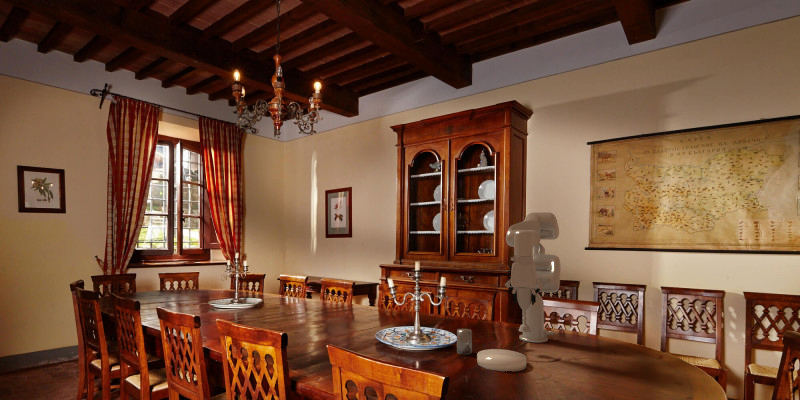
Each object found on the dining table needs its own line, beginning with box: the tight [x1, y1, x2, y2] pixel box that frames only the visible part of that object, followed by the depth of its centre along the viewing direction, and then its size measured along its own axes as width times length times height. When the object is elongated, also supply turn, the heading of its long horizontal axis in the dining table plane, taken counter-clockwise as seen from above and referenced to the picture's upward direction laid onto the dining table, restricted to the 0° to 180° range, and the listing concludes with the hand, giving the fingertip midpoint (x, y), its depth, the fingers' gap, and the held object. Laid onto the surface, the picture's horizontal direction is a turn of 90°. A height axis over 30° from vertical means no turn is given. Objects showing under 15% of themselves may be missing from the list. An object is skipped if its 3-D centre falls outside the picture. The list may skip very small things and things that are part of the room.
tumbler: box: [456, 328, 473, 356], centre depth 174 cm, size 6×6×9 cm
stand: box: [476, 348, 527, 372], centre depth 160 cm, size 18×18×3 cm
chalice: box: [516, 288, 532, 333], centre depth 176 cm, size 7×7×18 cm
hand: (524, 303), depth 176 cm, fingers closed on chalice, 6 cm apart
